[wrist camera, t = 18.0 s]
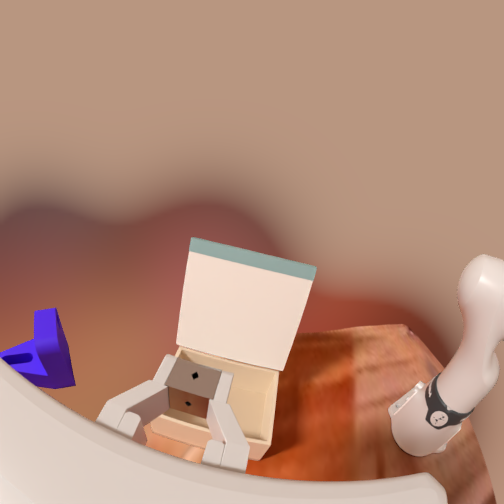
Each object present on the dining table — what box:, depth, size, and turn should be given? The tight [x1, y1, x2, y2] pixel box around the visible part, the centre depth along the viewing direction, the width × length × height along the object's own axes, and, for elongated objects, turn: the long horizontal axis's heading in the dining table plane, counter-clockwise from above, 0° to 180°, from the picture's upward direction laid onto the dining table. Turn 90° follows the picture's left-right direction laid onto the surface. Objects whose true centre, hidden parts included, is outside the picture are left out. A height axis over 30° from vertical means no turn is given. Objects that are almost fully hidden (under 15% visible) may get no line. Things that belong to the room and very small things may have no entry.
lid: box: [176, 237, 317, 371], centre depth 42 cm, size 19×19×1 cm
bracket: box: [0, 308, 76, 389], centre depth 34 cm, size 18×11×12 cm, turn 125°
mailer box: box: [150, 346, 279, 461], centre depth 40 cm, size 15×18×8 cm
